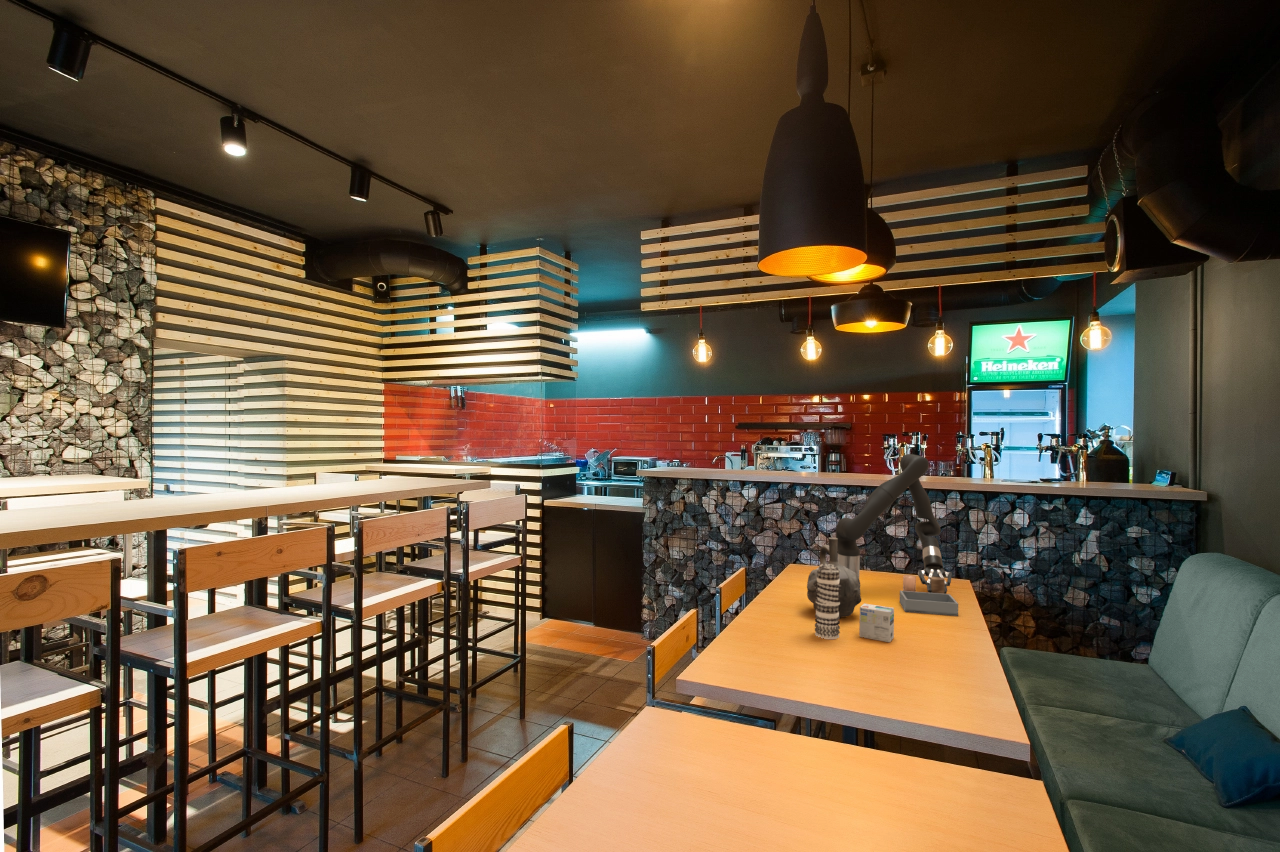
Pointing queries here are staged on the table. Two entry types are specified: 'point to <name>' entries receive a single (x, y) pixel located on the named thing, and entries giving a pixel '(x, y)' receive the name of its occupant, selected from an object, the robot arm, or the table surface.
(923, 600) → the tote
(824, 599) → the black white tall cylinder
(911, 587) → the terracotta cylinder
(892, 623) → the light bulb box
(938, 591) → the walnut block
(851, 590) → the vessel
